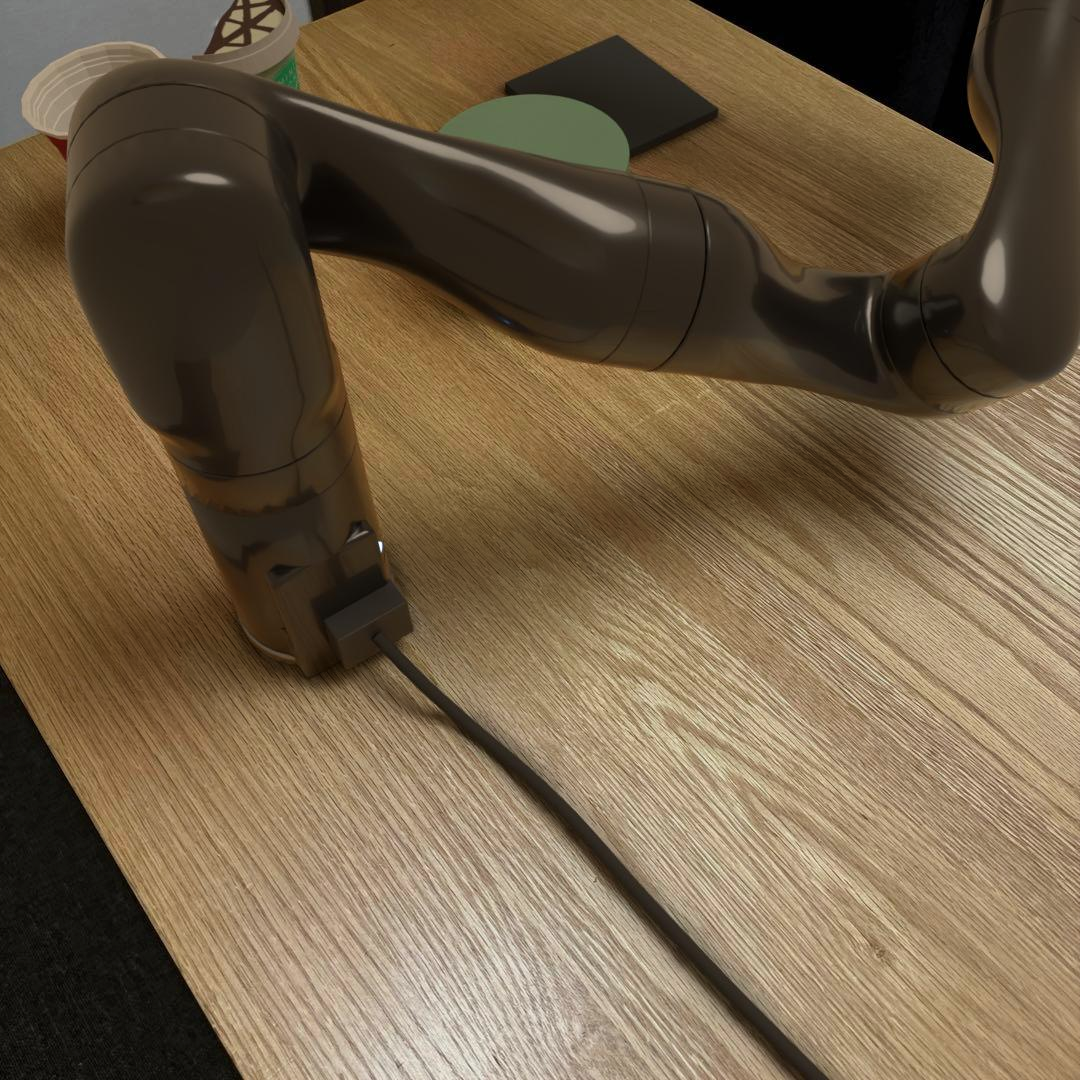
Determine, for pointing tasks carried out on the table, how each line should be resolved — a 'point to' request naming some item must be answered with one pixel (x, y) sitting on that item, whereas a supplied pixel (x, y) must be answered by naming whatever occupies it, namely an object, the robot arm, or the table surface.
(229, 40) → the food container
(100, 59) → the plastic cup
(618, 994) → the table surface
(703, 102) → the mat
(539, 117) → the sage green puck
